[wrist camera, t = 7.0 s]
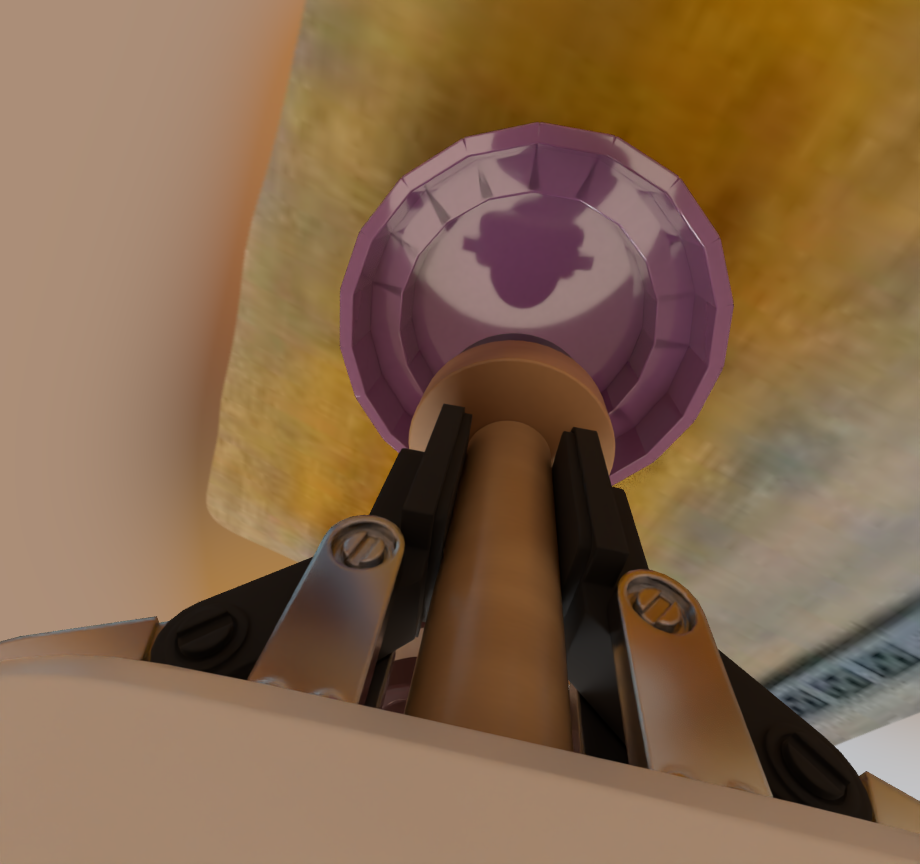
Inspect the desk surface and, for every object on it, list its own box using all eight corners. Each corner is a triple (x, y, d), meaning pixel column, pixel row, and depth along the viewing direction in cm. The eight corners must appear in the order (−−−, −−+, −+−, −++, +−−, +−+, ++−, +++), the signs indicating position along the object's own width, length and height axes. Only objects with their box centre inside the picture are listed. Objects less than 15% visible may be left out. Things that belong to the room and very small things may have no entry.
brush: (563, 290, 12) (703, 724, 2) (621, 444, 14) (812, 992, 4) (400, 364, 14) (106, 774, 4) (473, 490, 16) (389, 949, 6)
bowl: (632, 54, 17) (673, 2, 12) (714, 388, 24) (763, 446, 19) (325, 243, 23) (265, 262, 18) (460, 471, 29) (444, 533, 24)
